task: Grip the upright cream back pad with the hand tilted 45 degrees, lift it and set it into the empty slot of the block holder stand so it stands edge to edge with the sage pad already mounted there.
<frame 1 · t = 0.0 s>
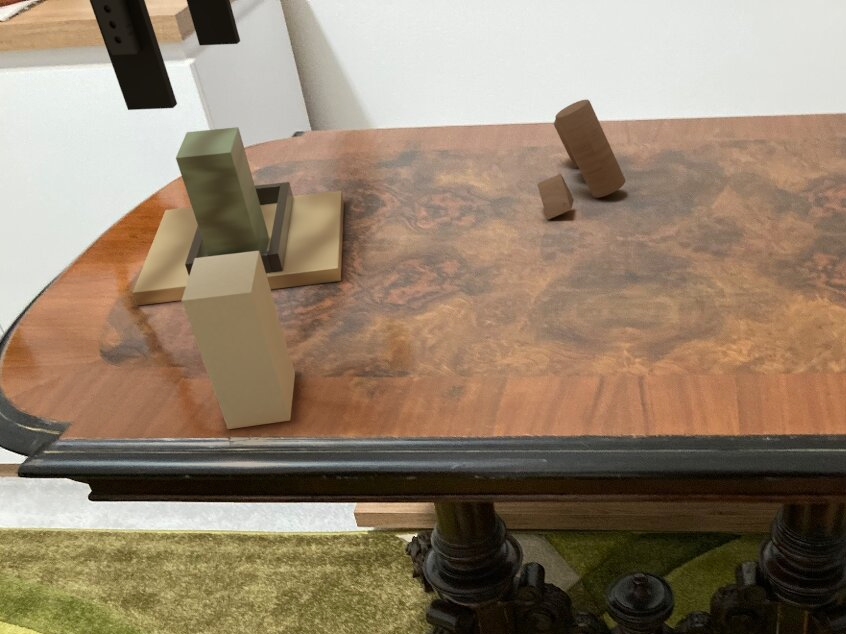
hand: (189, 73, 61), 27 cm above the table, tool pointing down, fingers open, 13 cm apart
wooden block set: (585, 189, 111), on the table
cream back pad: (262, 400, 78), on the table
block holder stand: (250, 249, 101), on the table
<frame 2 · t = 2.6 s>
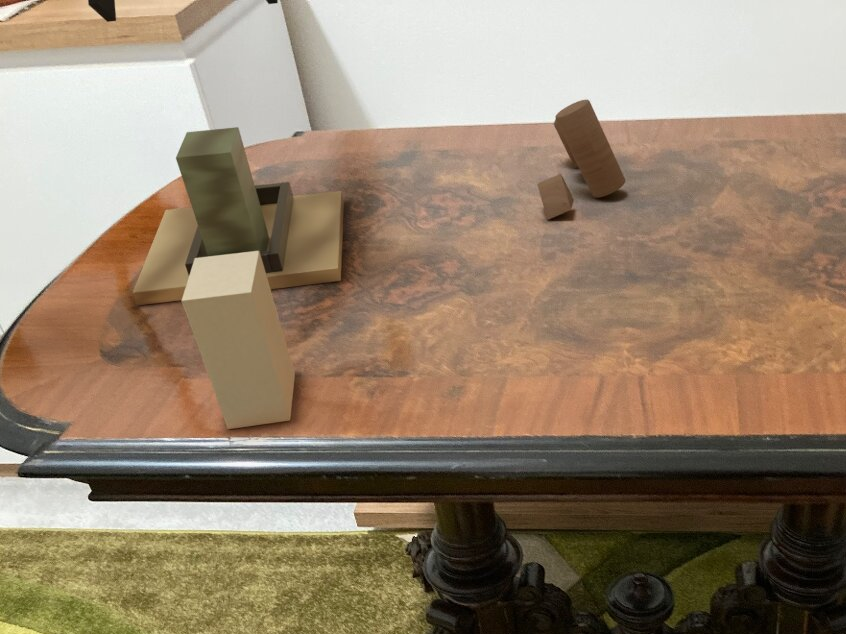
hand: (184, 4, 75), 27 cm above the table, tool tilted 40°, fingers open, 13 cm apart
nothing on the table moved.
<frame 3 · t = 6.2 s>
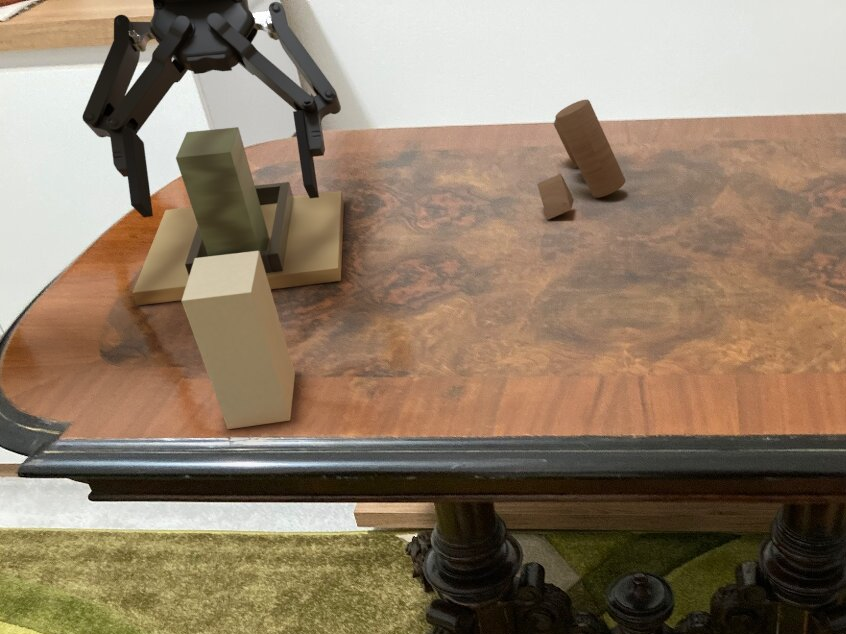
hand: (227, 201, 76), 14 cm above the table, tool tilted 45°, fingers open, 13 cm apart
nothing on the table moved.
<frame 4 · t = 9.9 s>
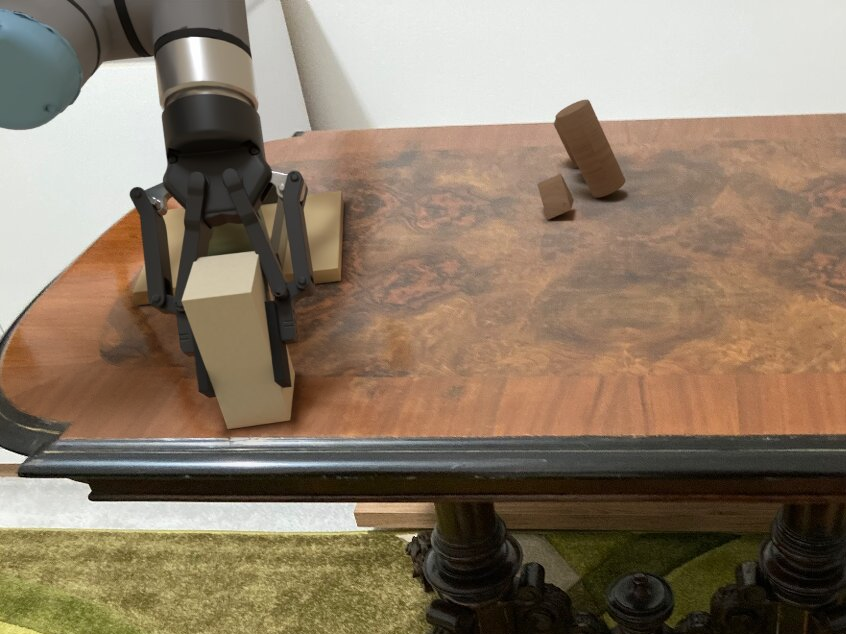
hand: (246, 388, 73), 4 cm above the table, tool tilted 45°, fingers closed on cream back pad, 5 cm apart
cream back pad: (262, 400, 78), on the table, touching gripper
everything else where it was.
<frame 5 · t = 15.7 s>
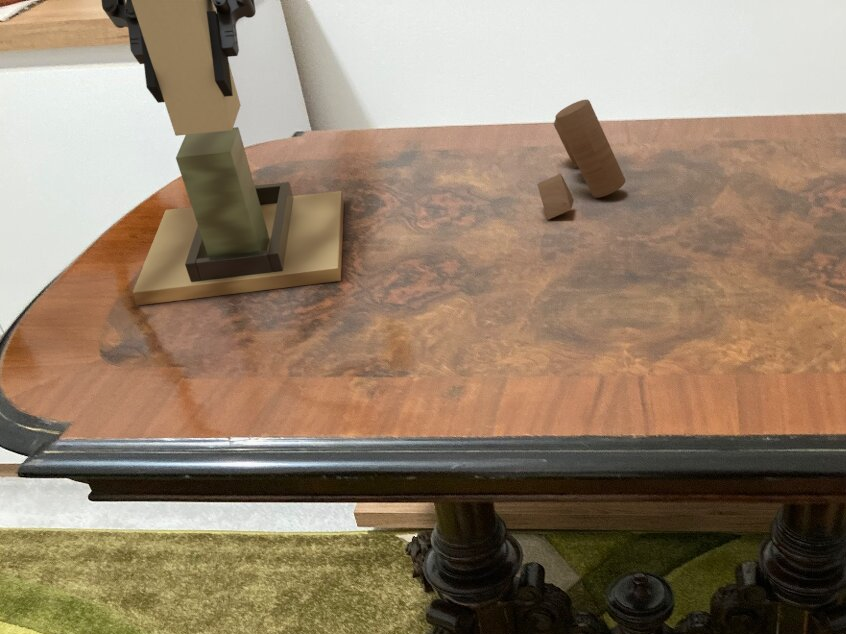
hand: (190, 91, 81), 20 cm above the table, tool tilted 45°, fingers closed on cream back pad, 5 cm apart
cream back pad: (209, 120, 86), point 16 cm above the table, touching gripper
everything else where it was.
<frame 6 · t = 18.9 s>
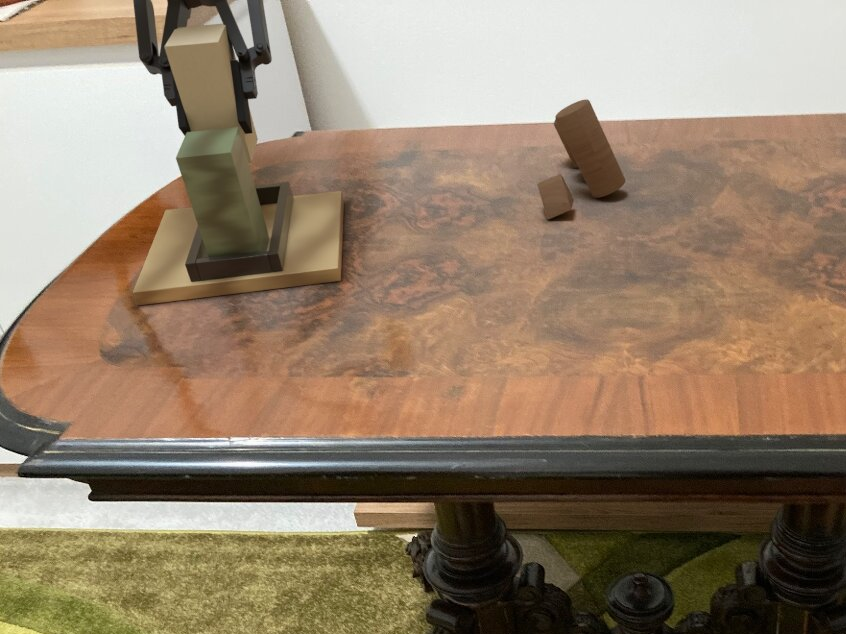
hand: (216, 130, 93), 13 cm above the table, tool tilted 45°, fingers closed on cream back pad, 5 cm apart
cream back pad: (231, 153, 98), point 9 cm above the table, touching gripper
everything else where it was.
when the fingers open (5 cm above the table, at t = 21.3 s): cream back pad stays where it is, resting on block holder stand.
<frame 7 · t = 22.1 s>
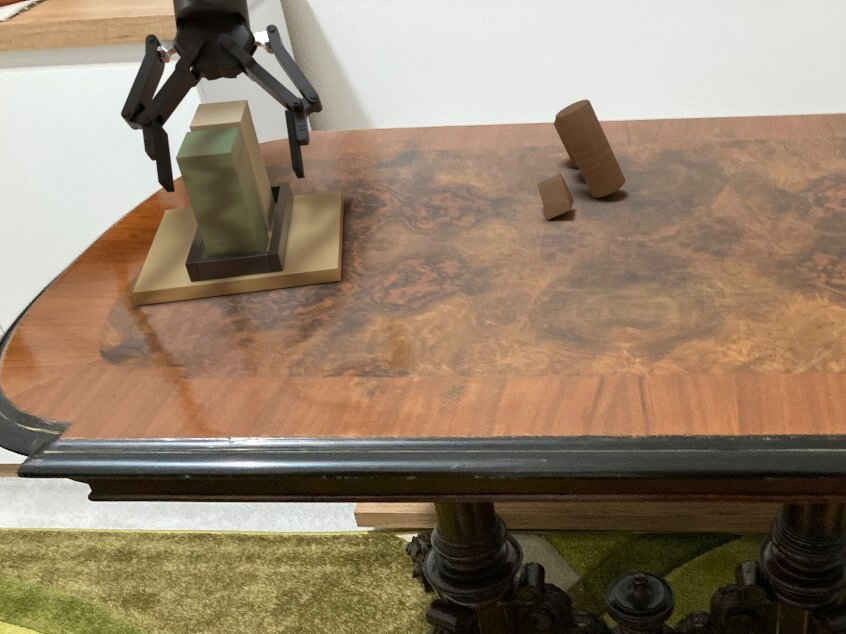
hand: (233, 180, 98), 7 cm above the table, tool tilted 45°, fingers open, 13 cm apart
cream back pad: (250, 220, 103), point 1 cm above the table, touching block holder stand
everything else where it was.
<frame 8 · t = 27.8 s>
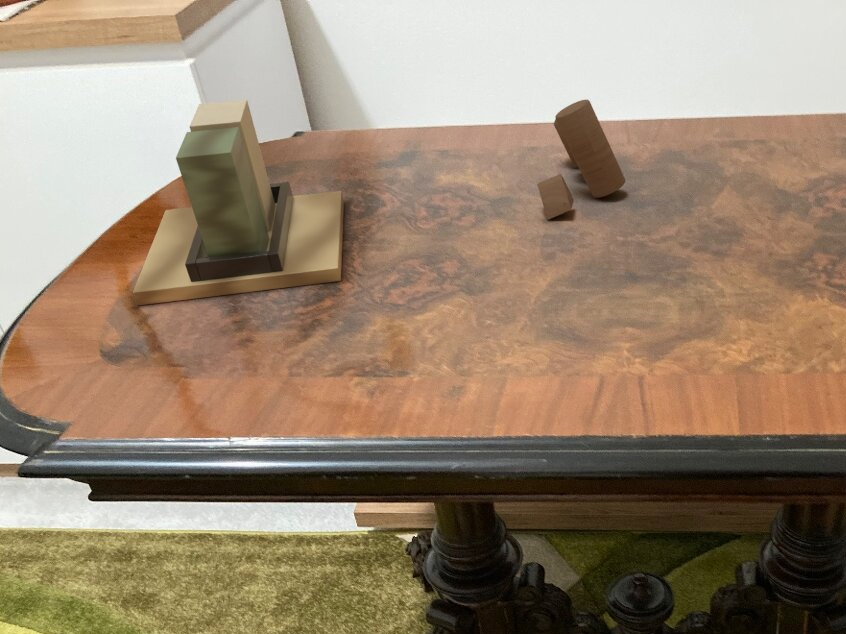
nothing on the table moved.
at the end: cream back pad 0.1 cm from the target spot on the block holder stand, point 1.5 cm above the block holder stand's base; cream back pad tilted 0°; the gripper is holding nothing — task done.
